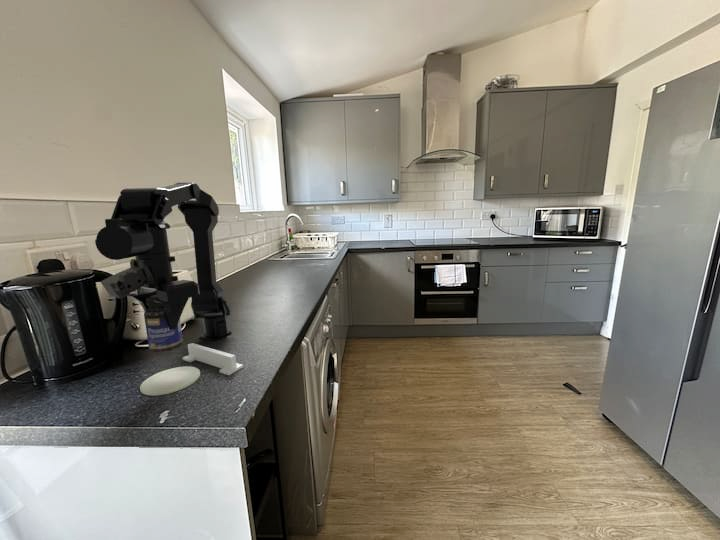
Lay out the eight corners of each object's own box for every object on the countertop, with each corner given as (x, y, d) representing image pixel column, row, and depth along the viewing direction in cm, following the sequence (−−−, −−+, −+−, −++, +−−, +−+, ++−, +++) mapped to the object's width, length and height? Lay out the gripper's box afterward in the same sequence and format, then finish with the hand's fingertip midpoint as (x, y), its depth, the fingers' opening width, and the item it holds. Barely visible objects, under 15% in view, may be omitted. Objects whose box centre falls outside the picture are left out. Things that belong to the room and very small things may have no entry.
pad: (129, 387, 62) (129, 385, 62) (181, 364, 72) (181, 362, 72) (159, 401, 57) (158, 399, 57) (210, 374, 67) (210, 372, 67)
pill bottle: (147, 356, 59) (138, 302, 57) (151, 344, 64) (143, 295, 63) (182, 349, 62) (175, 297, 60) (184, 338, 67) (177, 291, 65)
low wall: (182, 359, 74) (180, 346, 73) (197, 353, 78) (196, 340, 77) (228, 375, 66) (227, 360, 65) (243, 367, 70) (241, 353, 69)
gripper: (80, 256, 57) (95, 333, 60) (131, 260, 48) (146, 350, 51) (144, 249, 67) (154, 316, 69) (196, 252, 58) (205, 328, 61)
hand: (163, 326), depth 62 cm, fingers closed on pill bottle, 6 cm apart
